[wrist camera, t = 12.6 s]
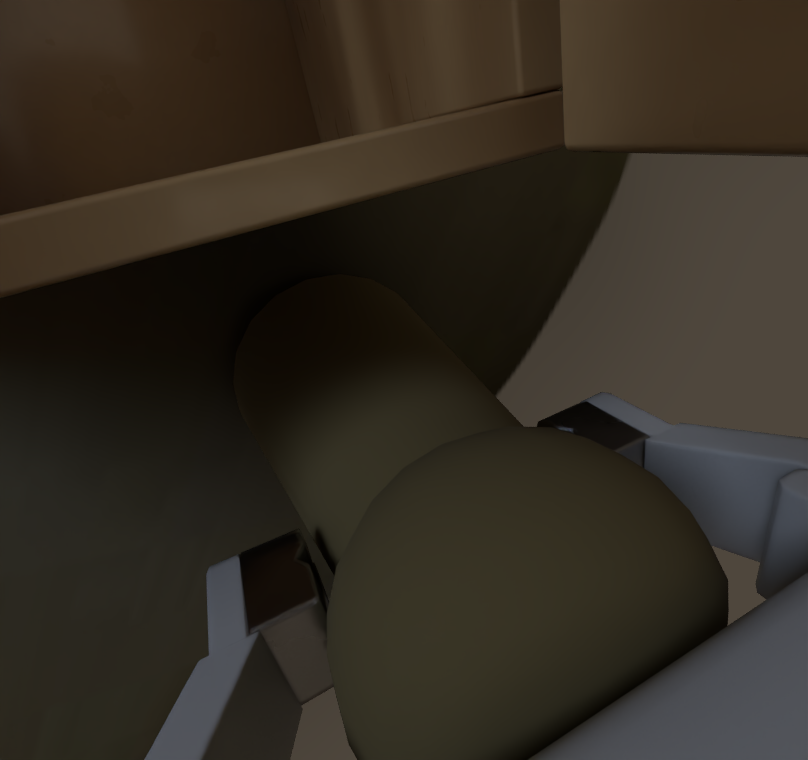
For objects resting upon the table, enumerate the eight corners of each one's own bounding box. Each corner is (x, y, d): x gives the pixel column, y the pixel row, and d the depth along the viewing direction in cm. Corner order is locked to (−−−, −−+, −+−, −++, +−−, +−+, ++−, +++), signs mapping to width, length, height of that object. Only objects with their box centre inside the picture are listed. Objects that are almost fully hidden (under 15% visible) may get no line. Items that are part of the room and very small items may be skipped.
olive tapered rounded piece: (267, 243, 12) (528, 467, 3) (455, 307, 15) (895, 524, 6) (208, 448, 13) (248, 1056, 4) (390, 471, 16) (656, 859, 7)
